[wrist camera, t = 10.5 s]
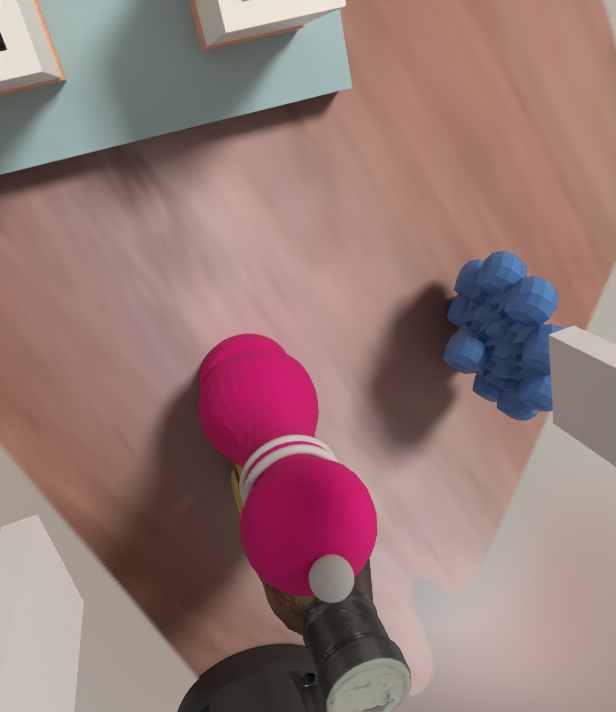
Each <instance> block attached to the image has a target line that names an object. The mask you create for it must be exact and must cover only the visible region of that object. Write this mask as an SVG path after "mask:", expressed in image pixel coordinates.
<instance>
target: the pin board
mask: <svg viewBox="0 0 616 712" xmlns="http://www.w3.org/2000/svg"><path fill="white" fill-rule="evenodd" d="M38 1H39V4H40V6H41V9H42V12H43V15H44V18H45V20H46V23H47V26H48V29H49V32H50V34H51V37H52V40H53V43H54V45H55V48H56V51H57V54H58V57H59V59H60V62H61V65H62V68H63V71H64V73H65V76H66V79H67V81H63V82H59V83H54V84H50V85H46V86H41V87H37V88H32V89H28V90H24V91H19V92H15V93H10V94H6V95H2V96H0V175H1V174H5V173H9V172H13V171H17V170H21V169H25V168H29V167H33V166H37V165H41V164H45V163H50V162H54V161H58V160H62V159H66V158H70V157H74V156H78V155H82V154H86V153H90V152H94V151H98V150H102V149H106V148H110V147H114V146H118V145H122V144H126V143H130V142H134V141H139V140H143V139H147V138H151V137H155V136H159V135H163V134H167V133H171V132H175V131H179V130H183V129H187V128H191V127H195V126H199V125H203V124H207V123H211V122H215V121H219V120H223V119H228V118H232V117H236V116H240V115H244V114H248V113H252V112H256V111H260V110H264V109H268V108H272V107H276V106H280V105H284V104H288V103H292V102H296V101H300V100H304V99H308V98H312V97H317V96H321V95H325V94H329V93H333V92H337V91H341V90H345V89H349V88H352V83H351V77H350V71H349V65H348V58H347V52H346V46H345V40H344V34H343V27H342V21H341V15H340V9H338V10H336V11H334V12H331V13H329V14H327V15H325V16H322V17H320V18H318V19H316V20H313V21H311V22H309V23H307V24H306V27H304V28H302V29H299V30H295V31H291V32H287V33H282V34H278V35H273V36H269V37H265V38H260V39H256V40H251V41H247V42H243V43H238V44H234V45H229V46H225V47H221V48H216V49H212V50H207V51H203V52H202V50H201V47H200V43H199V39H198V35H197V31H196V27H195V23H194V20H193V16H192V12H191V8H190V4H189V0H38ZM243 1H248V0H242V2H243ZM5 50H7V48H6V45H5V43H4V40H3V38H2V35H1V32H0V51H5Z"/></svg>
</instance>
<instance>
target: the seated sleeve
mask: <svg viewBox="0 0 616 712" xmlns="http://www.w3.org/2000/svg"><path fill="white" fill-rule="evenodd" d="M0 32H1V35H2V38H3V40H4V43H5V45H6V48H7V50H5V51H0V96H2V95H6V94H10V93H15V92H19V91H24V90H28V89H32V88H37V87H41V86H46V85H50V84H54V83H59V82H63V81H67V79H66V76H65V73H64V71H63V68H62V65H61V62H60V59H59V57H58V54H57V51H56V48H55V45H54V43H53V40H52V37H51V34H50V32H49V29H48V26H47V23H46V20H45V18H44V15H43V12H42V9H41V6H40V4H39V1H38V0H0Z"/></svg>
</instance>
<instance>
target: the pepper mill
mask: <svg viewBox="0 0 616 712" xmlns="http://www.w3.org/2000/svg"><path fill="white" fill-rule="evenodd" d="M200 387H201V392H200V396H199V403H198V412H199V418H200V422H201V424H202V427H203V429H204V432H205V434H206V436H207V438H208V439H209V441H210V443H211V444H212V445H213V446H214V447H215V448H216V449H217V450H218V451H219V452H220V453H221V454H222V455H223V456H225V457H226V458H227V459H228V460H230V461H231V462H233V463H235V464H237V465H239V466H241V467H242V472H241V476H240V481H239V489H240V495H241V499H242V501H243V506H244V507H243V509H242V512H241V517H240V534H241V541H242V545H243V549H244V552H245V554H246V556H247V558H248V560H249V562H250V564H251V566H252V567H253V569H254V570H255V571H256V573H257V574H258V575H259V576H260V577H261V578H262V579H263V580H264V581H265V582H267V583H268V584H269V585H271V586H272V587H274V588H276V589H278V590H280V591H282V592H284V593H288V594H291V595H294V596H306V597H310V596H316V597H318V598H319V599H320V600H322V601H324V602H329V603H335V602H340V601H342V600H343V599H345V598H346V597H347V596H348V595H349V594H350V592H351V591H352V589H353V585H354V577H355V576H356V575H357V574H358V573H359V572H360V570H361V569H362V568H363V567H364V565H365V564H366V562H367V561H368V559H369V557H370V556H371V553H372V551H373V548H374V546H375V541H376V536H377V516H376V511H375V507H374V504H373V501H372V499H371V497H370V494H369V492H368V490H367V488H366V486H365V485H364V484H363V483H362V481H361V480H360V479H359V478H358V476H357V475H356V474H355V473H353V472H352V471H351V470H349V469H348V468H346V467H345V466H344V465H342V464H340V463H339V462H338V461H337V459H336V457H335V455H334V453H333V452H332V450H331V449H330V448H329V447H328V446H327V445H326V444H325V443H323V442H322V441H320V440H318V439H316V438H315V431H316V426H317V422H318V400H317V394H316V390H315V388H314V385H313V383H312V381H311V379H310V376H309V374H308V373H307V371H306V370H305V368H304V367H303V366H302V365H301V364H300V363H299V362H298V361H297V360H295V359H294V358H292V357H291V356H289V355H287V354H286V352H285V351H284V350H283V348H282V347H281V346H280V345H279V344H278V343H276V342H275V341H273V340H272V339H269V338H267V337H265V336H261V335H257V334H242V335H237V336H234V337H231V338H228V339H226V340H224V341H223V342H221V343H219V344H218V345H217V346H216V347H214V348H213V350H212V351H211V352H210V353H209V354H208V355H207V357H206V359H205V361H204V362H203V365H202V368H201V372H200Z"/></svg>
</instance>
